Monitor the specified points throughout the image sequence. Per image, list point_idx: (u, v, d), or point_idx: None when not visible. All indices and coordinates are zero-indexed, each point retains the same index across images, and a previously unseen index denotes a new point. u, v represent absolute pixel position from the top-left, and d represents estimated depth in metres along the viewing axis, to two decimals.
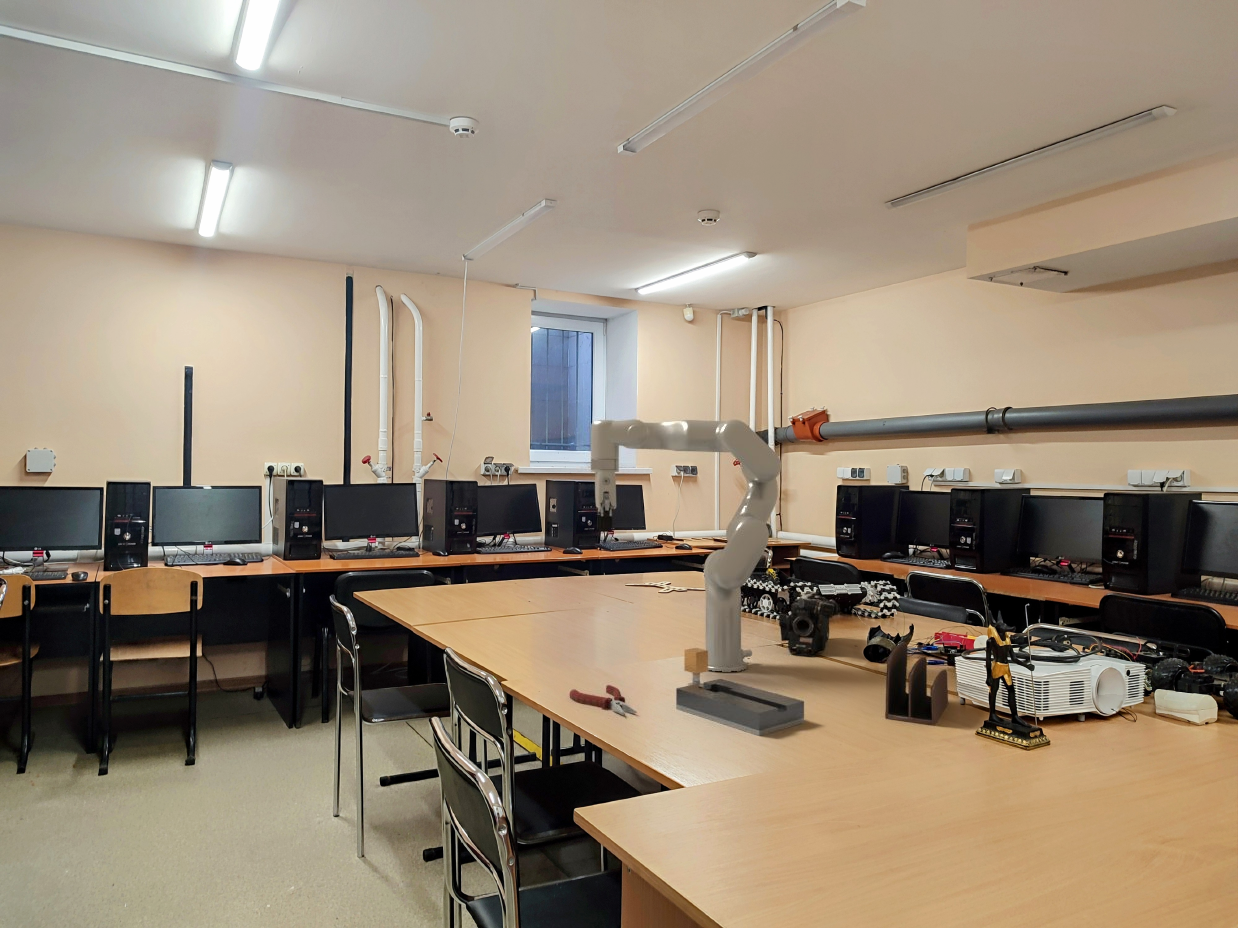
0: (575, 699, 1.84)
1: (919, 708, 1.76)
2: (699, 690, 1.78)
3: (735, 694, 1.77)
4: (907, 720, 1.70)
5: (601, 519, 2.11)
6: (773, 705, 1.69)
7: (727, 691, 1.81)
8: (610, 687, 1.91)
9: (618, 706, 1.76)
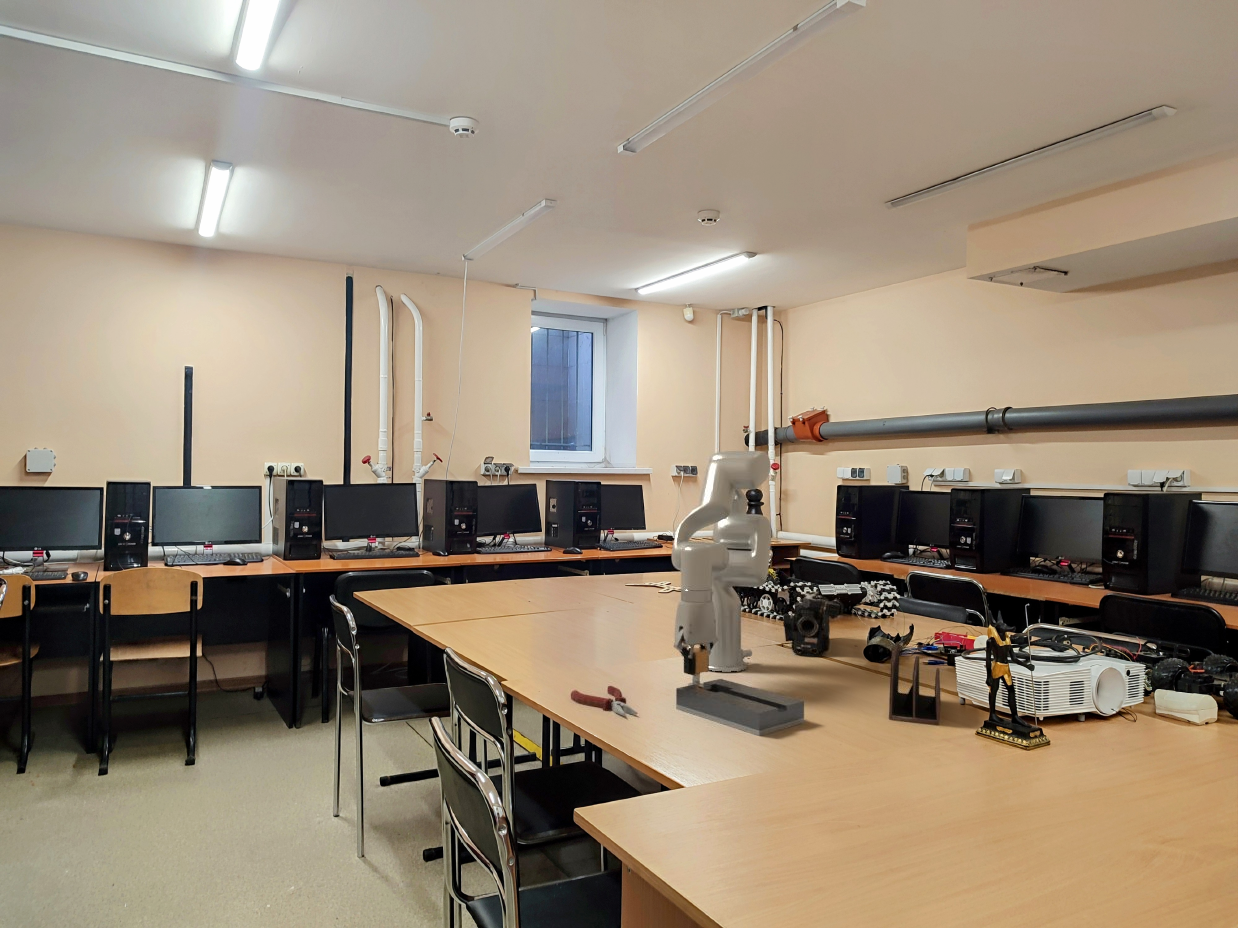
0: (576, 700, 1.84)
1: (918, 708, 1.76)
2: (699, 690, 1.78)
3: (735, 694, 1.77)
4: (911, 720, 1.70)
5: None
6: (773, 705, 1.69)
7: (727, 691, 1.81)
8: (611, 688, 1.90)
9: (619, 707, 1.75)
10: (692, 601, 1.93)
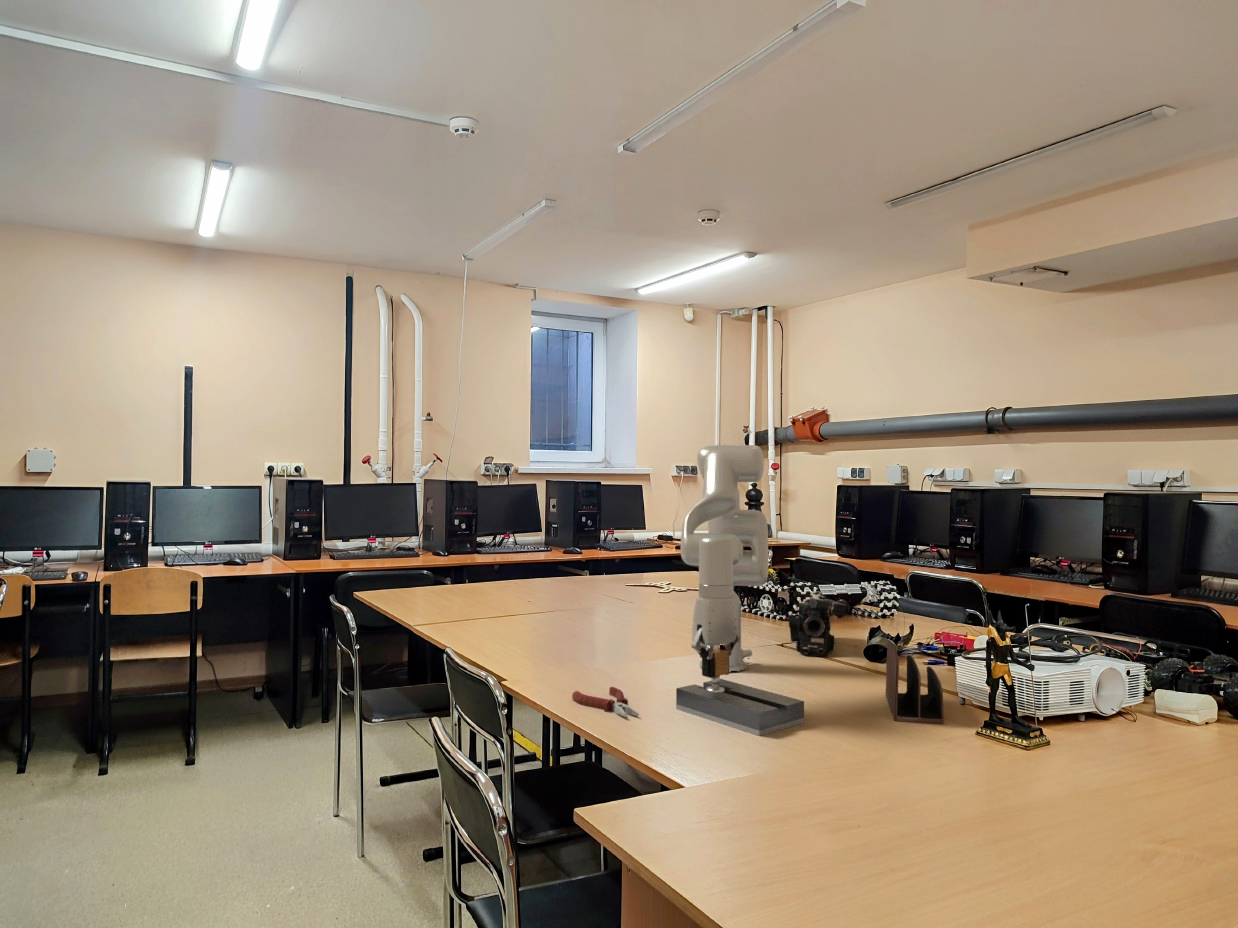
0: (578, 701, 1.83)
1: None
2: (699, 690, 1.78)
3: (735, 694, 1.77)
4: (917, 721, 1.70)
5: None
6: (773, 705, 1.69)
7: (727, 691, 1.81)
8: (613, 689, 1.89)
9: (620, 708, 1.74)
10: (711, 597, 1.77)
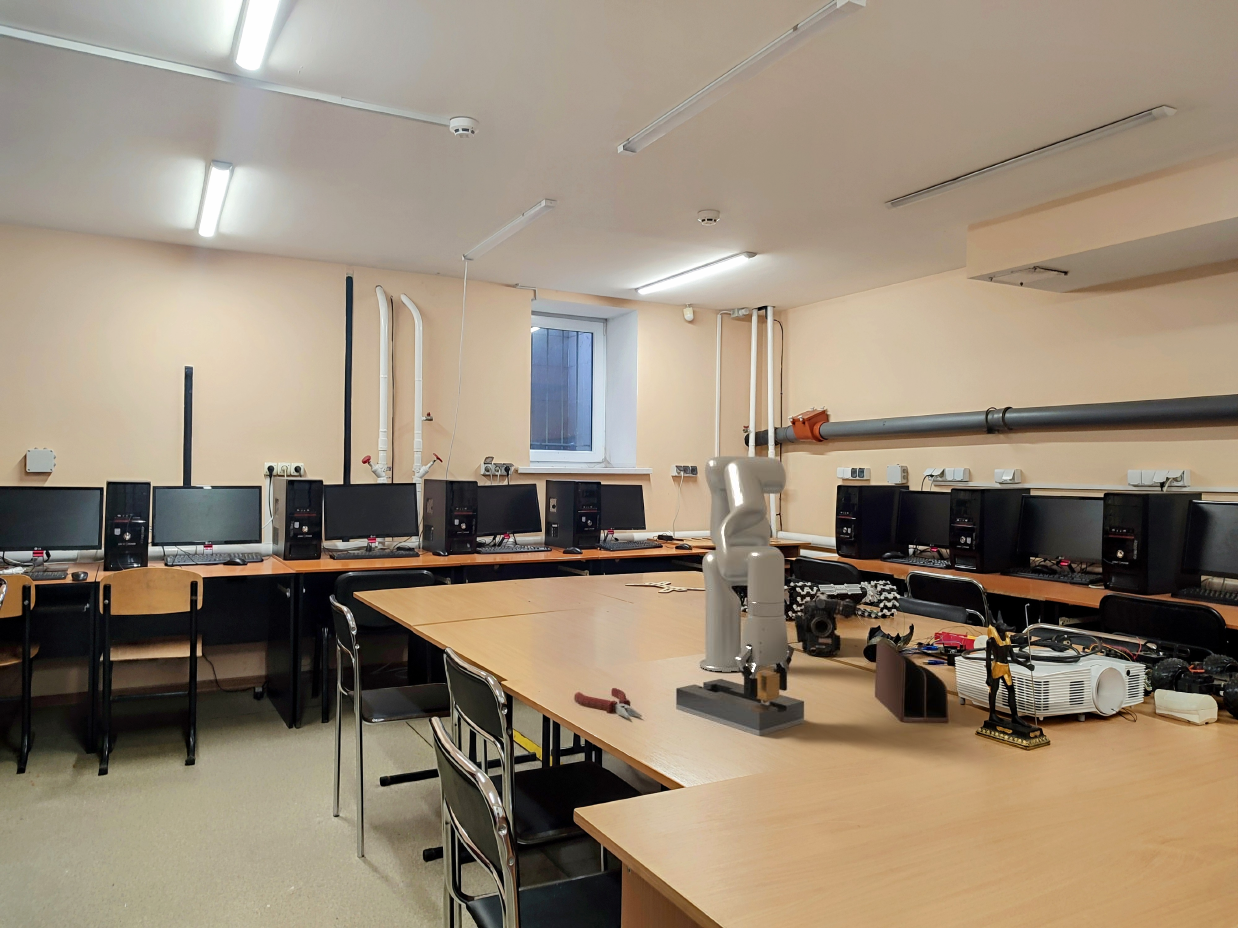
0: (580, 702, 1.82)
1: None
2: (699, 690, 1.78)
3: (735, 694, 1.77)
4: (923, 721, 1.70)
5: None
6: (773, 705, 1.69)
7: (727, 691, 1.81)
8: (615, 690, 1.88)
9: (623, 709, 1.73)
10: (762, 615, 1.65)
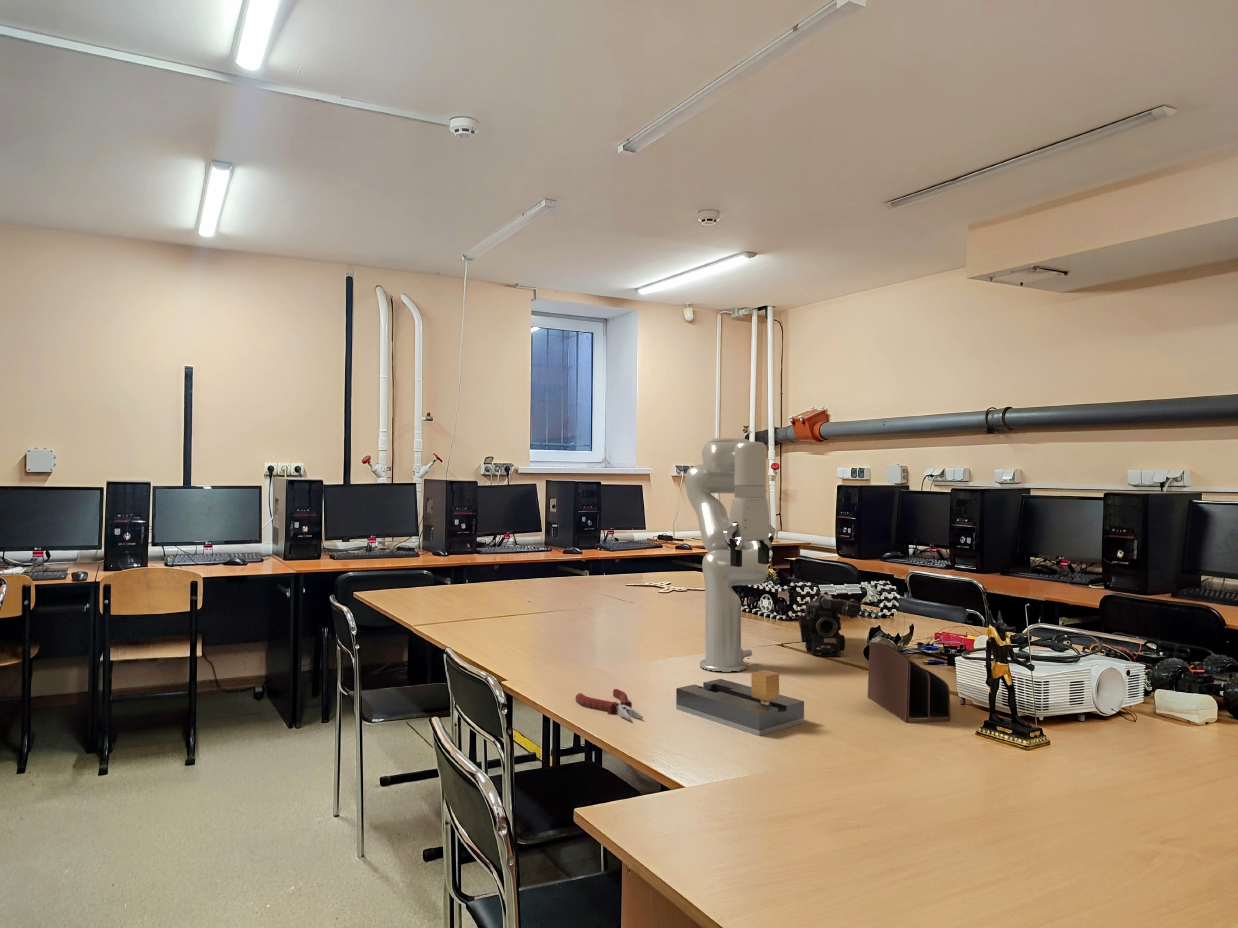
0: (581, 703, 1.81)
1: None
2: (699, 690, 1.78)
3: (735, 694, 1.77)
4: (927, 720, 1.70)
5: None
6: (773, 705, 1.69)
7: (727, 691, 1.81)
8: (617, 691, 1.87)
9: (624, 711, 1.72)
10: (747, 496, 1.90)
